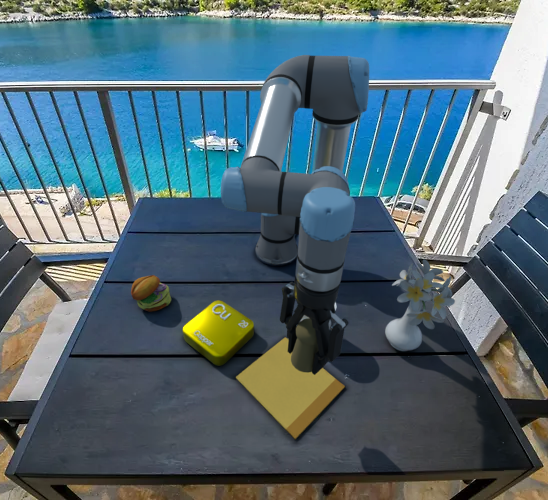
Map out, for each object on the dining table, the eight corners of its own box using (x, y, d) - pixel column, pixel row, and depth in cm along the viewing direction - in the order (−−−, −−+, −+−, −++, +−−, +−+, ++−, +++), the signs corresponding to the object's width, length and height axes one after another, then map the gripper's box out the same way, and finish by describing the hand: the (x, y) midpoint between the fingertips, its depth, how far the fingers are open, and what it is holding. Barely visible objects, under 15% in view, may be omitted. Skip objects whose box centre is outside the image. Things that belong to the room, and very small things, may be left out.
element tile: (180, 338, 96) (178, 327, 93) (218, 307, 105) (217, 296, 102) (219, 369, 89) (218, 358, 86) (257, 333, 98) (257, 321, 95)
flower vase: (383, 371, 88) (410, 304, 73) (372, 316, 103) (393, 249, 87) (436, 377, 87) (476, 310, 72) (418, 320, 101) (448, 253, 86)
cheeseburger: (165, 316, 102) (151, 292, 97) (134, 317, 106) (119, 293, 100) (178, 292, 110) (165, 268, 104) (149, 293, 113) (135, 270, 108)
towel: (285, 338, 97) (285, 336, 96) (344, 387, 85) (345, 386, 85) (235, 378, 87) (235, 376, 87) (295, 439, 75) (295, 438, 75)
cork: (288, 348, 75) (291, 314, 68) (316, 346, 75) (322, 312, 68) (293, 373, 70) (297, 340, 63) (322, 371, 71) (329, 337, 64)
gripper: (262, 260, 62) (260, 341, 76) (351, 323, 51) (330, 403, 65) (291, 243, 66) (284, 323, 80) (379, 297, 55) (353, 378, 69)
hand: (305, 359), depth 73 cm, fingers closed on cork, 6 cm apart
